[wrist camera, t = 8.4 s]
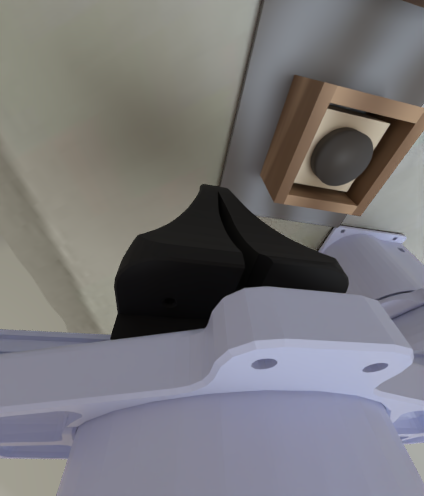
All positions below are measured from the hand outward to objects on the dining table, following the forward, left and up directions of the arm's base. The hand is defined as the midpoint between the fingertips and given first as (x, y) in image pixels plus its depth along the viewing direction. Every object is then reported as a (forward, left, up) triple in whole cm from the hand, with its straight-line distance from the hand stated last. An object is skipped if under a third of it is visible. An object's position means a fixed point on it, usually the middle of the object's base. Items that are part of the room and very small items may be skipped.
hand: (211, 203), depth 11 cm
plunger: (-9, -2, -9) cm, 13 cm away
